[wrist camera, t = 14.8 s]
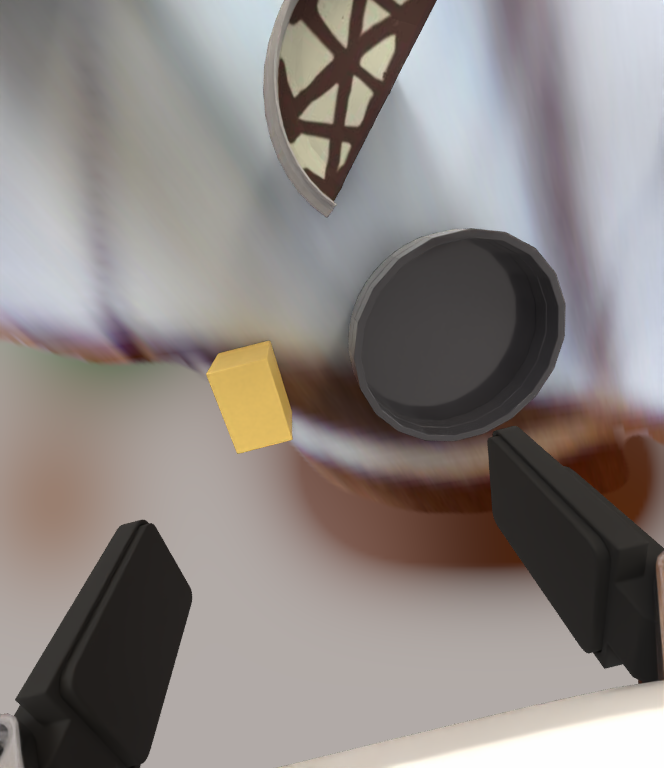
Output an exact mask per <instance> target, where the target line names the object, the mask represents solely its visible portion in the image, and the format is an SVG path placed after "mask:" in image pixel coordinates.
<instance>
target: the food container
mask: <svg viewBox="0 0 664 768" xmlns="http://www.w3.org/2000/svg"><path fill="white" fill-rule="evenodd" d="M436 1H437V0H284V2H283V4H282V6H281V8H280V11H279V13H278V16H277V18H276V21H275V24H274V27H273V30H272V33H271V36H270V39H269V43H268V48H267V54H266V60H265V65H264V85H263V94H264V105H265V116H266V120H267V125H268V129H269V134H270V138H271V141H272V143H273V146H274V149H275V152H276V154H277V157H278V160H279V161H280V163H281V165H282V167H283V169H284V171H285V173H286V175H287V176H288V178H289V180H290V181H291V182H292V184H293V185H294V186H295V188H296V189H297V191H298V192H299V193H300V194H301V195H302V197H303V198H304V199H305V200H306V201H307V202H308V203H309V204H310V205H311V206H312V207H313V208H315V209H316V210H317V211H319V212H320V213H321V214H323V215H324V216H325V217H328V216H329V215H330V213H331V212H332V211H333V209H334V207H335V206H336V205H337V204H336V203H335V202H333V201H334V200H335V199H336V197H337V195H338V193H339V191H340V190H341V188H342V186H343V183H344V181H345V178H346V176H347V174H348V172H349V170H350V169H351V167H352V165H353V163H354V161H355V159H356V157H357V155H358V153H359V151H360V149H361V147H362V145H363V143H364V141H365V139H366V137H367V135H368V133H369V131H370V129H371V128H372V126H373V124H374V121H375V120H376V118H377V116H378V114H379V112H380V110H381V108H382V106H383V104H384V102H385V100H386V98H387V96H388V95H389V94H390V92H391V89H392V87H393V85H394V83H395V81H396V79H397V77H398V75H399V73H400V71H401V69H402V67H403V65H404V63H405V61H406V59H407V57H408V56H409V53H410V51H411V49H412V47H413V45H414V44H415V42H416V40H417V38H418V36H419V34H420V32H421V30H422V28H423V26H424V24H425V22H426V20H427V18H428V16H429V14H430V12H431V10H432V8H433V7H434V5H435V3H436Z"/></svg>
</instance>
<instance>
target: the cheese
mask: <svg viewBox="0 0 664 768" xmlns="http://www.w3.org/2000/svg"><path fill="white" fill-rule="evenodd" d="M206 375H207V378H208V380H209V383H210V386H211V388H212V391H213V393H214V396H215V398H216V401H217V403H218V406H219V408H220V411H221V414H222V416H223V419H224V421H225V423H226V426H227V429H228V431H229V434H230V437H231V439H232V442H233V444H234V447H235V449H236V452H237V454H239V453H243V452H247V451H251V450H255V449H259V448H262V447H267V446H270V445H274V444H278V443H282V442H286V441H290V440H292V411H291V407H290V404H289V401H288V398H287V394H286V391H285V388H284V384H283V381H282V378H281V375H280V371H279V368H278V365H277V361H276V358H275V355H274V352H273V348H272V345H271V342H270V341H266V342H262V343H258V344H254V345H250V346H246V347H242V348H238V349H234V350H230V351H226V352H222V353H218V355H217V357H216V358H215V360H214V362H213V363H212V365H211V367H210V368H209V370H208V372H207V373H206Z"/></svg>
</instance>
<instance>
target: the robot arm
mask: <svg viewBox="0 0 664 768" xmlns="http://www.w3.org/2000/svg"><path fill="white" fill-rule="evenodd" d="M488 456H489V470H490V483H491V497H492V510H493V516H494V519H495V522H496V524H497V526H498V527H499V529H500V530H501V532H502V533H503V534H504V536H505V537H506V539H507V540H508V542H509V543H510V545H511V546H512V548H513V549H514V551H515V552H516V553H517V555H518V556H519V558H520V559H521V561H522V562H523V563H524V565H525V567H526V568H527V569H528V570H529V572H530V574H531V575H532V577H533V578H534V579H535V581H536V583H537V584H538V586H539V587H540V588H541V590H542V591H543V593H544V594H545V596H546V597H547V599H548V600H549V601H550V603H551V605H552V606H553V607H554V609H555V610H556V612H557V613H558V615H559V616H560V617H561V619H562V621H563V622H564V623H565V625H566V626H567V628H568V629H569V631H570V632H571V634H572V635H573V637H574V638H575V640H576V641H577V642H578V644H579V645H580V647H581V648H582V649H583V650H584V651H585V652H586V653H592V652H593V653H594V654H595V656H596V657H597V659H598V660H599V661H600V663H601V665H602V666H603V667H604V668H609V667H613V666H617V665H622V664H623V665H624V666H625V667H626V668H627V670H628V671H629V673H630V674H631V675H632V676H633V677H634V678H636V679H638V684H635V685H629V686H622V687H616V688H611V689H607V690H602V691H597V692H593V693H588V694H583V695H579V696H574V697H570V698H566V699H561V700H556V701H552V702H547V703H542V704H538V705H533V706H529V707H524V708H520V709H516V710H512V711H508V712H504V713H500V714H495V715H491V716H487V717H483V718H479V719H475V720H471V721H466V722H462V723H458V724H454V725H450V726H445V727H441V728H437V729H433V730H429V731H424V732H420V733H416V734H412V735H408V736H404V737H400V738H396V739H391V740H387V741H384V742H379V743H375V744H371V745H367V746H364V747H359V748H355V749H351V750H347V751H342V752H339V753H334V754H330V755H326V756H322V757H318V758H314V759H311V760H306V761H302V762H298V763H294V764H290V765H286V766H282V767H278V768H664V548H663V547H662V546H660V545H659V544H658V543H657V542H656V541H655V540H654V539H652V538H651V537H650V536H649V535H648V534H647V533H646V532H644V531H643V530H642V529H641V528H640V527H639V526H637V525H636V524H635V523H634V522H633V521H632V520H630V519H629V518H628V517H627V516H626V515H625V514H623V513H622V512H621V511H620V510H619V509H618V508H616V507H615V506H614V505H613V504H612V503H611V502H609V501H608V500H607V499H606V498H605V497H604V496H603V495H601V494H600V493H599V492H598V491H597V490H596V489H594V488H593V487H592V486H591V485H590V484H589V483H587V482H586V481H585V480H584V479H583V478H582V477H580V476H579V475H578V474H577V473H576V472H575V471H573V470H572V469H570V468H569V467H565V466H562V465H561V464H560V463H559V462H558V461H556V460H555V459H554V458H553V457H552V456H551V455H550V454H548V453H547V452H546V451H545V450H544V449H543V448H542V447H541V446H539V445H538V444H537V443H536V442H535V441H534V440H533V439H531V438H530V437H529V436H528V435H527V434H526V433H525V432H523V431H522V430H521V429H520V428H519V427H517V426H512V427H508V428H504V429H500V430H496V431H494V432H493V437H491V438H488ZM191 603H192V592H191V588H190V586H189V585H188V583H187V581H186V579H185V578H184V576H183V574H182V572H181V571H180V569H179V567H178V565H177V564H176V562H175V560H174V558H173V556H172V555H171V553H170V552H169V550H168V548H167V546H166V544H165V542H164V541H163V539H162V537H161V535H160V534H159V532H158V530H157V528H156V527H155V525H154V524H152V523H150V524H149V523H148V522H147V521H146V520H139V521H135V522H131V523H127V524H124V525H121V526H120V527H119V528H118V529H117V531H116V532H115V534H114V536H113V537H112V539H111V541H110V542H109V544H108V546H107V547H106V549H105V551H104V553H103V554H102V556H101V557H100V559H99V561H98V562H97V564H96V566H95V567H94V569H93V571H92V572H91V574H90V576H89V577H88V579H87V581H86V583H85V584H84V586H83V587H82V589H81V591H80V592H79V594H78V596H77V597H76V599H75V601H74V603H73V604H72V606H71V607H70V609H69V611H68V612H67V614H66V616H65V617H64V619H63V621H62V622H61V624H60V626H59V627H58V629H57V631H56V633H55V634H54V636H53V637H52V639H51V641H50V642H49V644H48V646H47V647H46V649H45V651H44V652H43V654H42V656H41V657H40V659H39V661H38V662H37V664H36V666H35V667H34V669H33V671H32V673H31V674H30V676H29V677H28V679H27V681H26V683H25V684H24V686H23V687H22V689H21V691H20V692H19V694H18V696H17V698H16V699H15V700H16V701H17V702H18V703H19V704H20V706H19V708H18V710H17V712H16V713H15V715H14V716H12V715H10V714H8V713H7V714H1V715H0V768H140V765H141V764H142V763H144V762H145V760H146V759H147V757H148V755H149V752H150V749H151V745H152V742H153V738H154V735H155V731H156V728H157V724H158V721H159V717H160V713H161V710H162V706H163V703H164V699H165V695H166V692H167V689H168V685H169V681H170V678H171V674H172V671H173V667H174V663H175V660H176V657H177V653H178V649H179V646H180V642H181V639H182V635H183V632H184V628H185V625H186V621H187V617H188V614H189V610H190V607H191Z"/></svg>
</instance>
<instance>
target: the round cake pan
mask: <svg viewBox="0 0 664 768" xmlns="http://www.w3.org/2000/svg"><path fill="white" fill-rule="evenodd" d="M565 308H566V305H565V301H564V297H563V294H562V291H561V288H560V285H559V281H558V278H557V275H556V273H555V271H554V270H553V269H552V268H551V266H550V265H549V264H548V263H547V261H546V260H545V259H544V258H543V257H542V255H541V254H540V253H539V252H538V250H537V249H536V248H535V247H533V246H531V245H529V244H527V243H525V242H523V241H521V240H520V239H518V238H516V237H514V236H512V235H510V234H508V233H506V232H500V231H491V230H482V229H472V228H467V229H451V230H447V231H443V232H438V233H433V234H430V235H427V236H423V237H420V238H417V239H416V240H414V241H412V242H410V243H408V244H406V245H404V246H403V247H401V248H400V249H398V250H397V251H395V252H394V253H393V254H392V255H390V256H389V257H388V258H387V259H386V260H384V261H383V262H382V263H381V265H380V266H379V267H378V268H377V269H376V270H375V271H374V272H373V274H372V275H371V276H370V278H369V279H368V280H367V282H366V283H365V285H364V287H363V289H362V290H361V292H360V294H359V296H358V298H357V301H356V303H355V306H354V308H353V312H352V316H351V320H350V326H349V334H348V350H349V355H350V361H351V364H352V368H353V373H354V376H355V379H356V381H357V383H358V385H359V387H360V389H361V391H362V392H363V394H364V396H365V397H366V399H367V400H368V402H369V404H370V405H371V407H372V408H373V410H374V412H375V413H376V414H377V415H378V416H379V417H381V418H382V419H383V420H385V421H386V422H387V423H388V424H390V425H391V426H392V427H393V428H395V429H396V430H397V431H399V432H402V433H405V434H408V435H411V436H414V437H417V438H420V439H423V440H426V441H457V440H461V439H465V438H469V437H473V436H477V435H481V434H484V433H486V432H488V431H490V430H492V429H493V428H495V427H497V426H499V425H501V424H502V423H504V422H506V421H508V420H510V419H511V418H513V417H514V416H515V415H516V414H517V413H518V412H519V411H520V410H521V409H523V408H524V407H525V406H526V405H527V404H528V403H529V402H530V401H531V400H532V399H533V398H534V397H535V396H536V395H537V394H538V392H539V391H540V389H541V388H542V386H543V385H544V383H545V382H546V380H547V379H548V377H549V376H550V374H551V373H552V371H553V370H554V367H555V364H556V361H557V358H558V355H559V352H560V349H561V346H562V343H563V340H564V336H565Z"/></svg>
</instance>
